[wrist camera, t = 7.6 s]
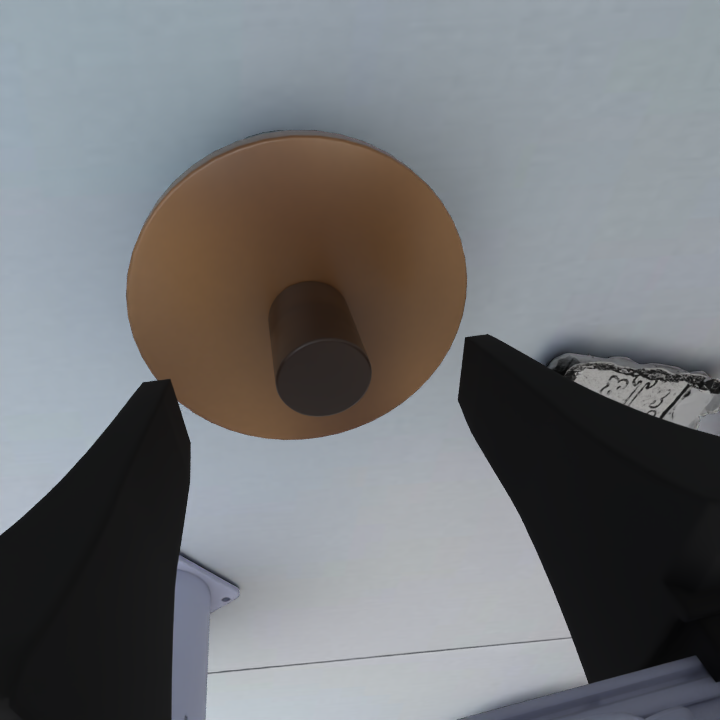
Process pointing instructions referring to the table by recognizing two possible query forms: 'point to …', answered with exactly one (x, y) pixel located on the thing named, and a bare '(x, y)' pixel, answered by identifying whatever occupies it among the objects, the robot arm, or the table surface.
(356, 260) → the knobbed round lid
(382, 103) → the table surface
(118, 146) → the table surface
